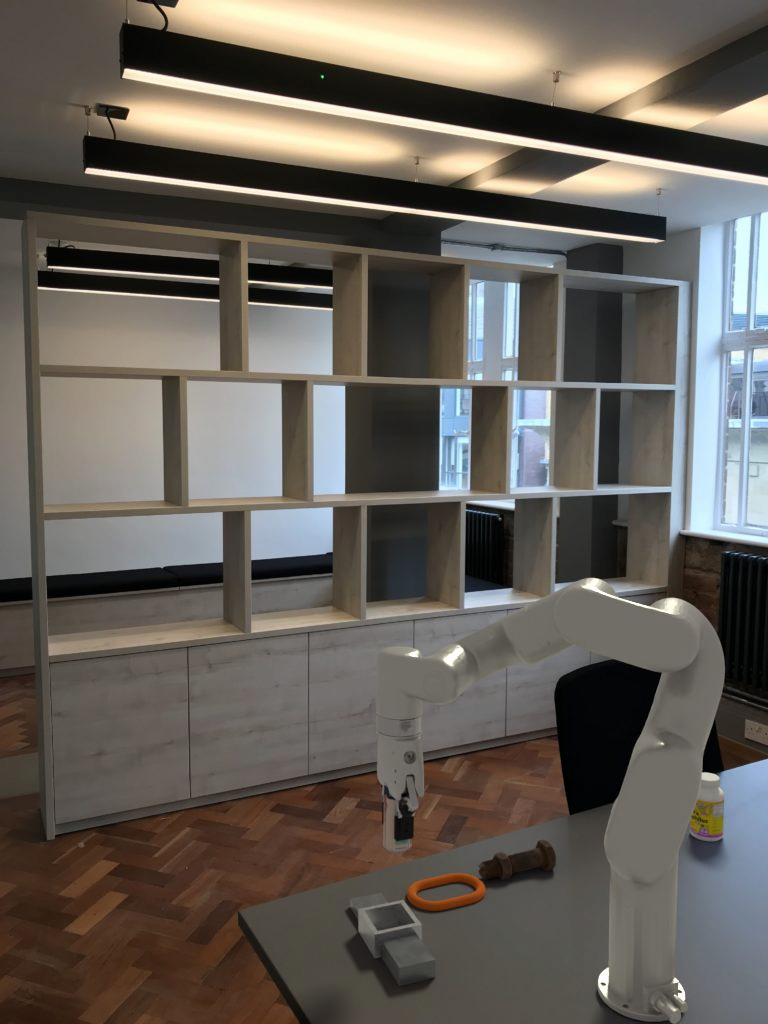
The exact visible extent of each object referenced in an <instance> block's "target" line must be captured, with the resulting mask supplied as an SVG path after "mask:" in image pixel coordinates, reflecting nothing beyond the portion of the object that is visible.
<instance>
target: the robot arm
mask: <svg viewBox="0 0 768 1024" xmlns="http://www.w3.org/2000/svg"><path fill="white" fill-rule="evenodd" d="M573 647H577V648H578V647H579V648H580V649H583V650H586V651H589V652H592V653H594V654H597V655H600V656H602V657H606V658H609V659H611V660H612V659H613V660H616V661H618V662H623V663H625V664H628V665H632V666H635V667H637V668H641V669H644V670H645V669H646V670H649V671H652V672H657V673H661V676H660V679H659V683H658V685H657V688H656V692H655V694H654V698H653V702H652V705H651V708H650V711H649V712H648V717H647V719H646V721H645V724H644V726H643V728H642V731H641V732H640V733H641V734H640V735H639V737H638V738H637V740H636V743H635V745H634V747H633V749H632V753H631V757H630V760H629V764H628V766H627V769H626V773H625V776H624V778H623V782H622V785H621V788H620V791H619V794H618V796H617V798H616V799H615V800H614V802H613V804H612V808H611V811H610V815H609V818H608V822H607V825H606V830H605V834H604V839H603V846H604V848H603V849H604V852H605V853H604V854H605V856H606V858H607V861H608V863H609V865H610V873H609V876H610V877H609V882H610V883H609V909H608V910H609V918H608V919H609V920H608V922H609V923H608V928H609V929H608V967H606V968H605V969H604V970H603V971H602V972H600V974H599V975H598V979H597V992H598V995H599V997H600V998H601V1000H602V1001H603V1002H604V1003H605V1004H606V1006H608V1007H609V1008H610V1009H611V1010H612V1011H615V1012H617V1013H618V1014H620V1015H622V1016H624V1017H627V1018H629V1019H633V1020H637V1021H642V1022H647V1023H648V1022H649V1023H654V1022H655V1023H656V1022H665V1021H669V1023H671V1024H677V1023H679V1022H680V1020H681V1018H682V1014H681V1013H686V1012H687V1011H688V1009H689V1004H688V1003H687V1002H686V992H685V990H684V987H683V986H682V984H681V983H680V982H679V979H677V978H676V950H677V948H676V947H677V946H676V944H677V943H676V941H677V910H678V909H677V905H678V903H677V902H678V875H679V872H678V870H679V867H678V866H679V851H680V847H682V843H683V841H684V837H685V836H686V835H685V834H686V832H687V830H688V827H689V825H690V819H691V816H692V813H693V810H694V808H695V805H696V802H697V798H698V795H699V791H700V787H701V779H702V773H703V763H704V762H703V759H704V758H703V757H704V753H705V749H706V745H707V742H708V739H709V736H710V734H711V730H712V727H713V724H714V721H715V717H716V714H717V711H718V708H719V704H720V701H721V698H722V694H723V688H724V684H725V677H726V676H725V675H726V674H725V673H726V665H725V656H724V650H723V647H722V644H721V641H720V638H719V636H718V634H717V631H716V629H715V628H714V627H713V625H712V623H711V622H710V621H709V620H708V618H707V617H706V616H705V615H704V614H703V612H701V611H700V610H699V609H698V608H697V607H696V606H694V605H693V604H691V603H690V602H688V601H686V600H684V599H681V598H676V597H666V598H662V599H660V600H659V599H658V600H656V601H654V603H652V604H651V605H644V604H641V603H637V602H633V601H630V600H627V599H624V598H621V597H619V596H618V594H617V592H616V590H615V589H614V588H613V587H612V586H611V585H610V584H609V583H607V582H606V581H605V580H602V579H600V578H596V577H586V578H581V579H579V580H577V581H574V582H573V583H570V584H568V585H566V586H564V587H562V588H560V589H558V590H556V591H554V592H552V593H550V594H548V595H546V596H544V597H541V598H540V599H538V600H536V601H533V602H531V603H530V604H527V605H526V606H523V607H521V608H519V609H517V610H515V611H512V612H511V613H509V614H506V615H505V616H503V617H501V618H499V619H498V620H496V621H494V622H493V623H491V624H488V625H486V626H484V627H482V628H480V629H478V630H476V631H473V632H472V633H469V634H467V635H466V636H463V637H461V638H459V639H457V640H455V641H453V642H451V643H449V644H447V645H445V646H443V647H442V648H441V649H439V650H437V652H435V653H433V654H431V655H428V656H424V655H423V654H422V653H421V650H419V649H417V648H414V647H411V646H404V645H403V646H401V645H399V646H398V645H396V646H388V647H385V648H383V649H381V650H380V651H379V652H378V654H377V658H376V696H375V698H376V699H375V700H376V705H375V706H376V707H375V711H376V712H375V733H376V735H377V736H378V739H377V740H378V741H377V751H376V752H377V754H376V755H377V756H376V776H377V779H378V782H379V783H380V785H381V788H382V789H381V800H382V802H381V824H382V826H383V818H384V782H385V783H386V784H387V786H388V789H389V793H390V794H391V795H392V796H393V797H394V798H395V801H396V814H397V816H394V839H395V840H396V841H401V840H407V839H411V840H412V839H413V838H414V837H415V836H414V827H415V820H414V819H415V815H416V810H418V808H419V801H418V800H419V799H418V798H423V797H424V795H425V772H424V771H425V770H424V752H423V745H422V738H421V736H422V735H423V705H424V704H423V702H425V703H428V704H432V705H439V706H441V705H442V706H443V705H448V704H450V703H452V702H454V701H455V700H457V698H459V696H461V695H462V694H463V693H464V692H465V691H466V690H467V689H468V688H469V687H471V685H473V684H475V683H477V682H479V681H480V680H483V679H484V678H487V677H489V676H491V675H493V674H496V673H498V672H500V671H502V670H504V669H507V668H510V667H514V666H520V665H521V666H529V667H530V666H534V665H537V664H539V663H542V662H544V661H546V660H548V659H550V658H552V657H554V656H556V655H559V654H561V653H563V652H565V651H567V650H569V649H572V648H573ZM401 793H406V795H407V796H401ZM401 801H408V802H407V804H406V805H404V806H403V807H401Z"/></svg>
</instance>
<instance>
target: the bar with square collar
mask: <svg viewBox="0 0 768 1024" xmlns="http://www.w3.org/2000/svg"><path fill="white" fill-rule="evenodd" d="M349 907H350V910H351V911H352V912H353V914H354V916H355V917H356V919H357V922H358V927H357V928H358V933H359V935H360V936H361V938H362V939H363V941H364V944H366V946H367V948H368V950H369V952H370V953H371V956H372V957H373V958H374V959H378V958H381V960H383V963H384V964H385V966H386V967H387V968H388V971H389V973H390V974H391V975H392V977H393V978H394V980H395V982H396V983H397V984H398V986H399V987H402V986H406V985H411V984H414V983H418V982H422V981H427V980H432V979H436V958H435V957H434V956H433V955H432V952H431V951H430V950H429V949H428V947H427V945H425V943H424V942H423V933H422V932H423V927H422V926H423V924H422V923H421V921H420V920H419V919H418V918H417V916H416V915H415V913H414V912H413V911H412V909H411V908H410V907H409V906H408V904H407V903H406V902H405V900H404V899H401V900H396V901H392V902H390V901H388V900H387V899H386V897H385V896H384V894H383V893H382V892H376V893H372V894H368V895H367V894H366V895H362V896H357V897H351V898H349Z"/></svg>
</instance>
